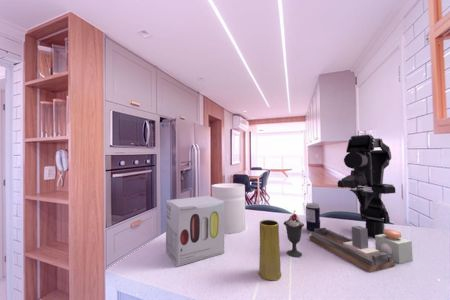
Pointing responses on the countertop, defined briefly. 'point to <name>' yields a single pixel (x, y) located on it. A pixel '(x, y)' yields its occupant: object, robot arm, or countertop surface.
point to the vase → (269, 250)
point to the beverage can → (312, 216)
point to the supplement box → (194, 229)
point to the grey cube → (395, 248)
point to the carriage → (360, 242)
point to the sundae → (294, 234)
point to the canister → (231, 205)
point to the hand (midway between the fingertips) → (364, 209)
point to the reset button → (392, 234)
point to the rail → (350, 251)
